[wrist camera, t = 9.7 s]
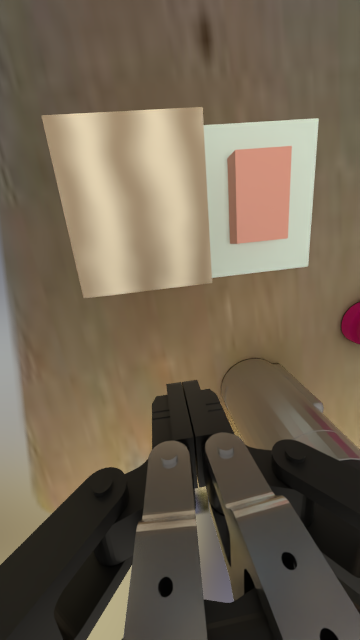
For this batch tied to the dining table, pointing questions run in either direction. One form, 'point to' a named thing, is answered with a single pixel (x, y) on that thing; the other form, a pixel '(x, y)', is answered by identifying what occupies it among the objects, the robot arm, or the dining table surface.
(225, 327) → the dining table surface
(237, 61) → the dining table surface
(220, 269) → the mat
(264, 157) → the tile
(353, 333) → the pepper mill
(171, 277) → the board
